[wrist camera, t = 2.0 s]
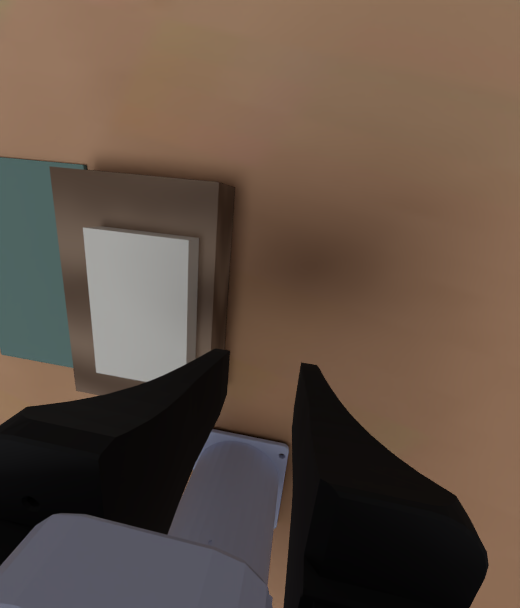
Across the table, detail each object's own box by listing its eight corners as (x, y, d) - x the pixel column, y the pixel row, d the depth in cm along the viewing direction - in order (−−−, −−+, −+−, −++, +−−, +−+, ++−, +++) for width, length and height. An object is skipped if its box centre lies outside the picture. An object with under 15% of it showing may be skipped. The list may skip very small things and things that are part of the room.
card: (194, 376, 19) (185, 389, 18) (111, 361, 20) (96, 372, 18) (199, 237, 16) (188, 240, 15) (101, 226, 17) (82, 227, 16)
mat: (103, 371, 25) (101, 372, 24) (5, 352, 26) (1, 354, 26) (86, 165, 20) (83, 165, 19) (-35, 154, 21) (-40, 153, 21)
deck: (221, 387, 23) (207, 416, 20) (107, 366, 24) (76, 390, 21) (234, 187, 19) (218, 182, 15) (92, 174, 20) (49, 166, 16)
